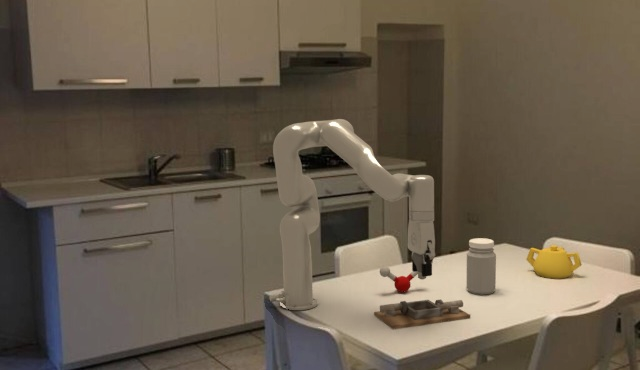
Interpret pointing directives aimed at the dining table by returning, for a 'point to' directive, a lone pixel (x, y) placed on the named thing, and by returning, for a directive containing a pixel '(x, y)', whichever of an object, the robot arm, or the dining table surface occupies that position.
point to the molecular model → (398, 279)
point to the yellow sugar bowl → (553, 262)
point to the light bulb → (419, 263)
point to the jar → (481, 266)
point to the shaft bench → (420, 313)
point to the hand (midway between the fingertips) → (422, 272)
